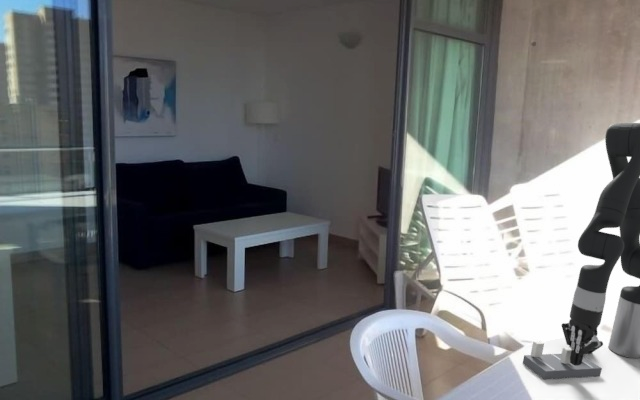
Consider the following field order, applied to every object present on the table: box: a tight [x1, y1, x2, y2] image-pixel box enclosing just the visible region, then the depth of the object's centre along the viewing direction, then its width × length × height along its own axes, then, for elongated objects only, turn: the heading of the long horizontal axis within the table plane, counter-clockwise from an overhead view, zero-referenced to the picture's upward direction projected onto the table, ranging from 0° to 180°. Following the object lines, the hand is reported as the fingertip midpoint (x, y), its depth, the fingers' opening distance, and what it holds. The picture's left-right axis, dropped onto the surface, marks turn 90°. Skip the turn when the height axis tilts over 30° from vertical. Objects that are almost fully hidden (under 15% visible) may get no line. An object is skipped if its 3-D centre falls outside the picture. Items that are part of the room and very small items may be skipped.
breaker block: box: [522, 353, 603, 381], centre depth 153 cm, size 19×9×3 cm, turn 108°
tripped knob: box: [560, 346, 572, 364], centre depth 152 cm, size 2×2×4 cm
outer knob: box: [530, 340, 545, 357], centre depth 154 cm, size 2×2×4 cm
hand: (575, 364), depth 149 cm, fingers closed
